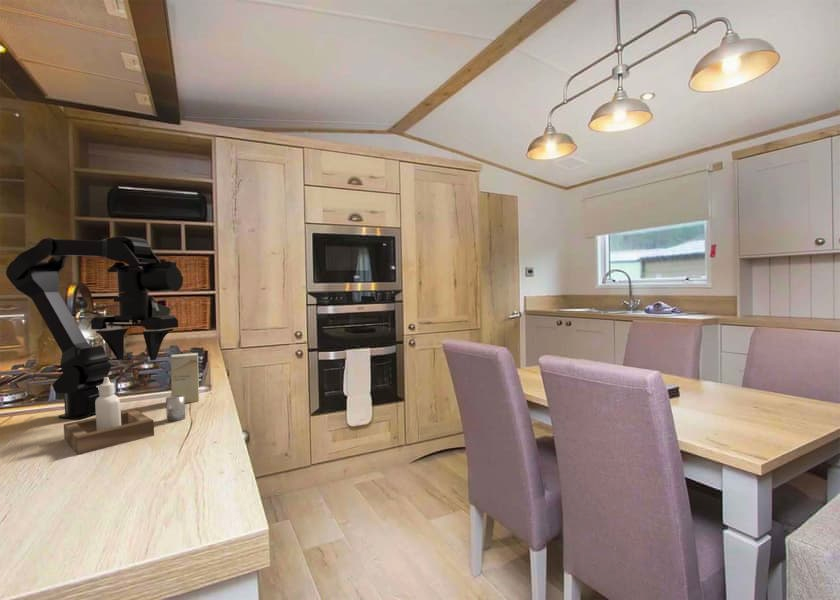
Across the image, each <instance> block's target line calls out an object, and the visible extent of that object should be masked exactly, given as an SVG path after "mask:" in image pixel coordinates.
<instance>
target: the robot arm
mask: <svg viewBox="0 0 840 600" xmlns="http://www.w3.org/2000/svg"><path fill="white" fill-rule="evenodd" d="M50 256H51V258H49V257H50ZM69 256H70V257H71V256H72V257H73V256H74V257H75V256H76V257H97V258H98V257H100V258H105V259H107V260H111V261H114V263H113V265H112V266H110V267H109V268H108V269H107V271H106V272H108V273H113V274H115V273H116V275H117V292H118V293H117V296H113V303H114V302H115V303H116V302H117V303H118V315H117V314H116V315H104V316H102V315H101V316H94V317H93V318H92V319H91V321H90V329H91V330H96V331H95V333H96V334H99V335H100V337H101V338H102V339H103V341H105V343H106V344H107V346H108V348H110V350H111V352H112V353H113V355H114V356H115V357H116V359H117V360H118V361H119V360H123V359H124V356H125V355H124V353H125V335H126V334H127V332H128V330H129V327H143V328H144V329H145V330H144V331H142V334H143V338H144V341H145V346H146V350H147V354H148V356H149V359H150V361H156V360H157V357H158V355H159V353H160V348H161V346H162V343H163V341H164V339H165V337H166V336H167V335H168V334H169V333H170V332H173V331H174V328H179V320H178V318H177V316H176V315H172V314H171V309H172V308H171V307H168V306H166V305H163V304H160V303H157V302H155V298H154V296H153V295H149V292H151V293H155V292H156V293H157V292H163V293H165V292H178V291H179V290H180V289H181V288H182V287H183V282H184V276H183V275H182V272H181V270H180V268H178V267H177V262H176V261H163V262H161V260H160V259H159V258H158V257H157V255H156V254H155V252H154V251H153V249H152V248H151V245H150V243H149V242H148V240H147V239H144V238H139V237H132V236H123V235H118V236H112V237H107V238H104V239H101V240H99V239H98V240H92V239H89V240H88V239H64V238H54V237H47V238H43V239H40V240H39V241H38V243H36V245H35V246H32V247H31V248H28V249H27V250H25V251H24V252H21V253H20V254H18V255H17V256H16V257H15V258H14V259H13V260H12V261H11V262H9V264H8V266H7V267H6V271H5V274H6V277H7V279H8V281H9V282H10V283H11V284H12V285H13V287H14V288H15V289H16V290H17V291H19V292H20V293H21V294H23V295H25V296H26V297H29V298H30V299H31V300H32V301H33V304H34V305H35V307H36V308H37V311H38V312H39V314H40V316H41V318H42V319H43V321H44V323H45V324H46V326H47V328H48V330H49V332H50V334H51V335H52V337H53V339H54V340H55V342H56V344H57V346H58V348H59V349H60V351H61V357H60V358H61V359H60V367H61V372H62V373H61V375H60V376H59V377H58V378H57V379H55V381H54V382H53V383H52V388H53V390H54V392H55V394H63V400H64V413H63V414H59V415H57V418H58V419H59V418H60V419H73V420H83V419H84V418H87V417H91V416H94V415H96V409H95V401H96V399H97V398H98V397H100V395H99V385H101V384H102V383H103V381H104V378H105V377H108V375H109V373H110V370H111V369H112V366H111V363H110V361H111V358H110V357H109V356H108V355H107V353H106V350H105V348H104V347H103V346H102V345H96V346H93V345H92V344H90V343H89V342H88V341H87V339H86V338H85V336H84V334H83V332H82V330H81V329H80V327H79V325H78V323H77V322H76V320H75V318H74V317H73V315H72V313H71V312H70V309H69V308H68V305H67V304H66V303H65V300H64V299H63V297H62V296H61V294H60V291H59V288H60V282H61V280H60V276H59V273H60V272H61V271H62V270H63V269H64V268H65V264H66V260H67V258H68V257H69ZM48 258H49V260H47V259H48ZM170 314H171V315H170Z"/></svg>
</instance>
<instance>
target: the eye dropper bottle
mask: <svg viewBox="0 0 840 600" xmlns="http://www.w3.org/2000/svg"><path fill="white" fill-rule="evenodd" d="M98 391H99V395H100V397H98V398H97V399H96V401H95V409H96V414H95V417H96V428H97V431H99V430H103V429H108V428H112V427H116V426H121V412H122V411H121V399H120V398H119V396H117V395H116V394H115V393H116V391H115V383H114V382H111V380H110V378H109V377H108V376H107V377H105V378H104V381H103V383H102V384H101V385H99V386H98Z"/></svg>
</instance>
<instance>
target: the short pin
mask: <svg viewBox="0 0 840 600" xmlns="http://www.w3.org/2000/svg"><path fill="white" fill-rule="evenodd" d="M165 406H166V409H165V410H166V422H168V423H174V422H175V423H177V422H180V421H183V420H185V419H186V405H185V397H184V395H175V396H172V395H171V396H167V397H166V398H165Z"/></svg>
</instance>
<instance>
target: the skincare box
mask: <svg viewBox="0 0 840 600" xmlns="http://www.w3.org/2000/svg"><path fill="white" fill-rule="evenodd" d="M170 375H171V376H170V387H171V388H170V389H171V394H170V395H171V396H175V395H184V397H185V403H187V404H188V403H195V402H199V399H200V391H199V390H200V386H199V352H192V353H180V354H179V353H178V354H171V355H170Z"/></svg>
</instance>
